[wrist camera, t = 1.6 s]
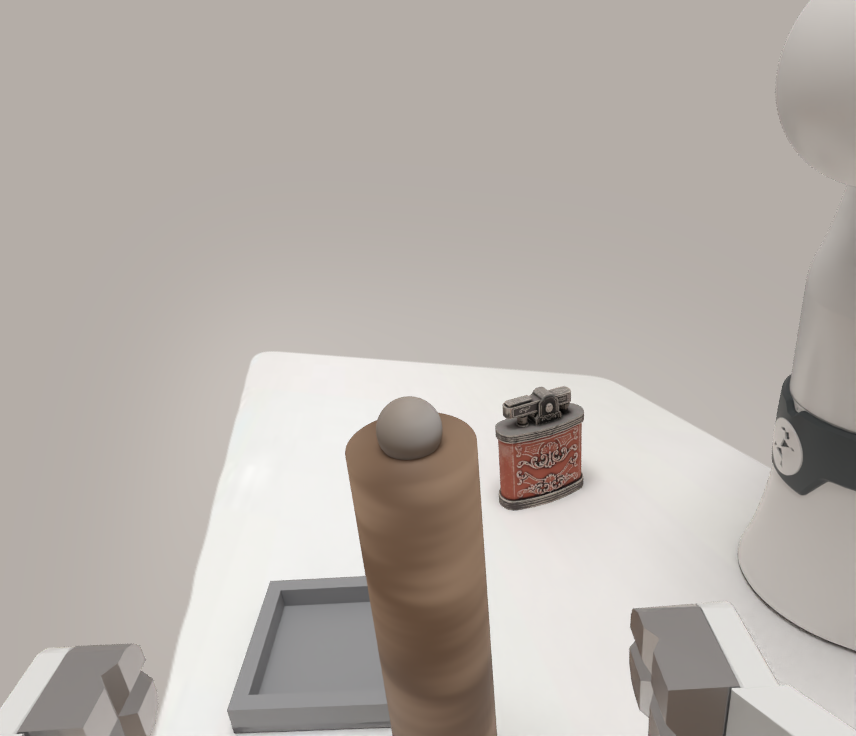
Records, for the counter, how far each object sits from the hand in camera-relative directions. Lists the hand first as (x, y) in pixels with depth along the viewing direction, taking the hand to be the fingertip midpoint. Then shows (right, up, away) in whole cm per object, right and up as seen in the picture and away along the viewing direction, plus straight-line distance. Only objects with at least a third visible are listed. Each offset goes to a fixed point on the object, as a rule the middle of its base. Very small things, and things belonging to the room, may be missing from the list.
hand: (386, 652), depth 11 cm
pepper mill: (+2, -19, +23) cm, 30 cm away
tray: (-6, -15, +33) cm, 37 cm away
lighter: (+11, -6, +48) cm, 49 cm away
